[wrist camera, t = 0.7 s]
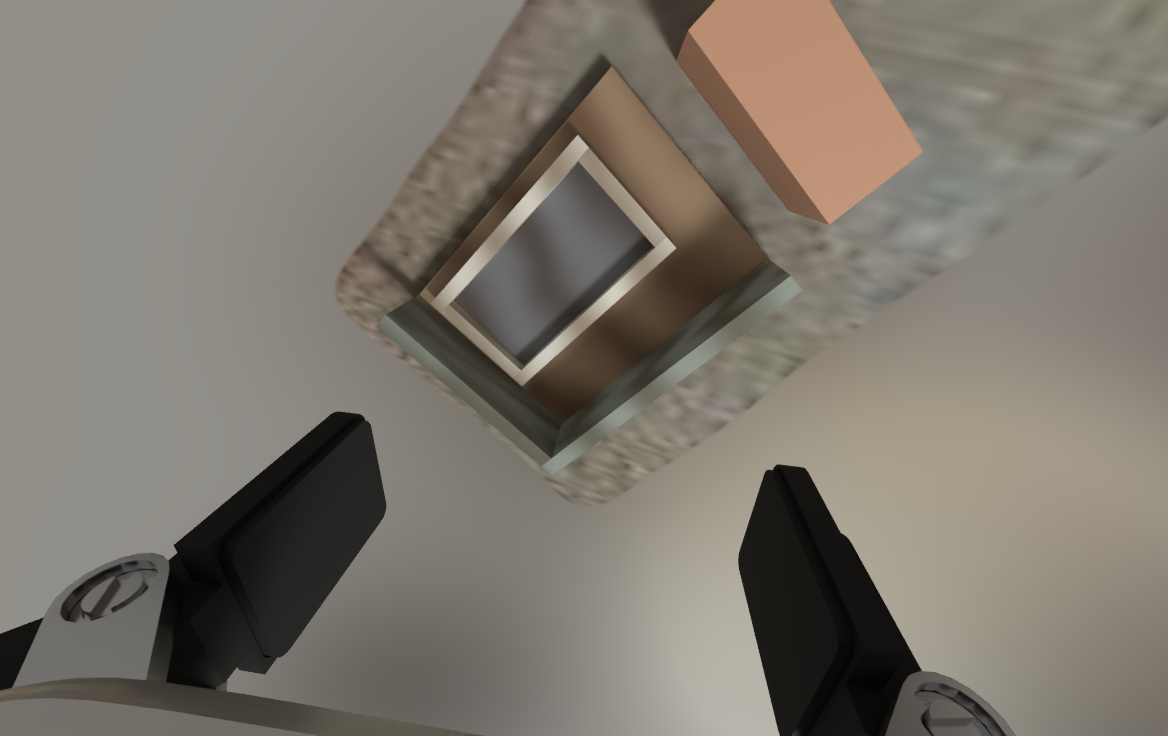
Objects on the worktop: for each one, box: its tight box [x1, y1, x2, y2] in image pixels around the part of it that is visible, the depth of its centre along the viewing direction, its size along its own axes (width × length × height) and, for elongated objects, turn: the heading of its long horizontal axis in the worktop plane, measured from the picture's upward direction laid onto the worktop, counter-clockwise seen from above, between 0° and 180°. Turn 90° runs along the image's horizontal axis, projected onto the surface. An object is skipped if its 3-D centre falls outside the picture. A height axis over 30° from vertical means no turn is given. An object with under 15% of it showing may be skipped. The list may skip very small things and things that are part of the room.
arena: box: [377, 67, 802, 476], centre depth 30 cm, size 22×17×6 cm
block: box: [676, 0, 923, 224], centre depth 24 cm, size 12×5×7 cm, turn 44°
